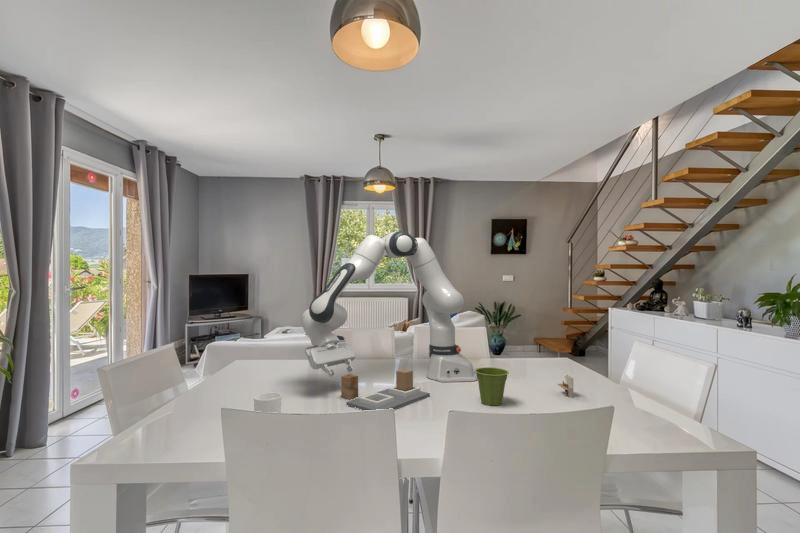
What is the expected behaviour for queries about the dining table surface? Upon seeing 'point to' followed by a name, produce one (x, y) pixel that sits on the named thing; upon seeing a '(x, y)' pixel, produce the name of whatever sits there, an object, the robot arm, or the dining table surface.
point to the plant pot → (491, 384)
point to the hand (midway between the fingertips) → (341, 373)
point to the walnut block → (349, 386)
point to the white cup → (268, 402)
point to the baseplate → (392, 394)
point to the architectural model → (568, 386)
